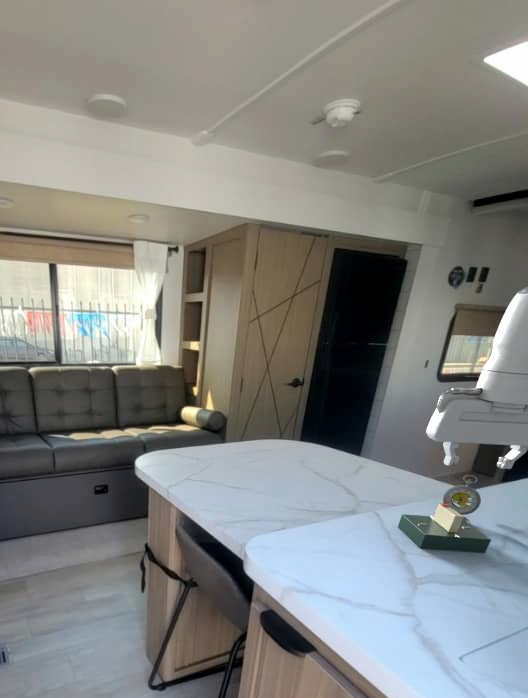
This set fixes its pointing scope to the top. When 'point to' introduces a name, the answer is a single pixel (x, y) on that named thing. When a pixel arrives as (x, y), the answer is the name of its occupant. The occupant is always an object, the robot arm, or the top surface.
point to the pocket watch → (463, 498)
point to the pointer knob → (448, 518)
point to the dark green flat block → (442, 535)
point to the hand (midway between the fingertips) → (476, 466)
